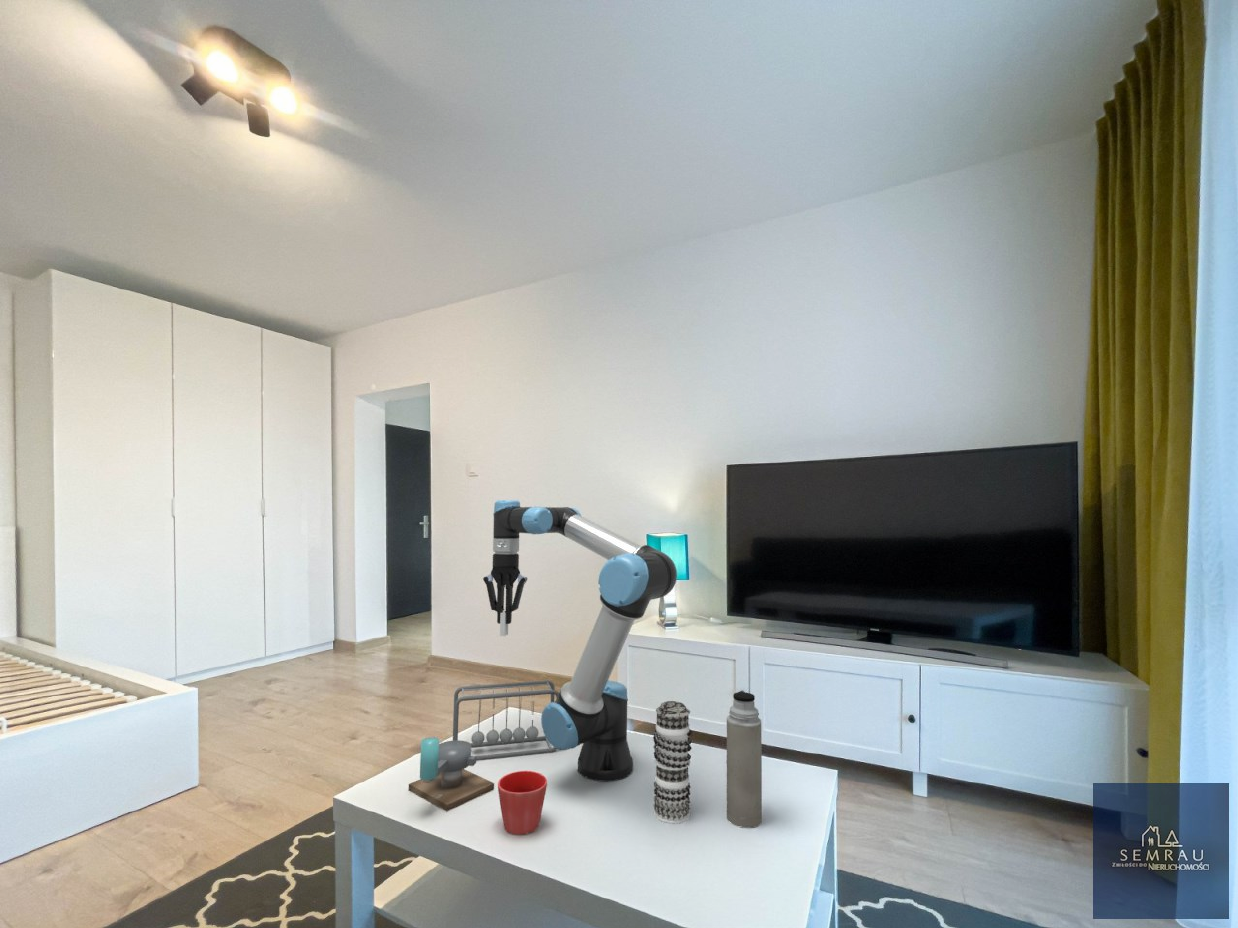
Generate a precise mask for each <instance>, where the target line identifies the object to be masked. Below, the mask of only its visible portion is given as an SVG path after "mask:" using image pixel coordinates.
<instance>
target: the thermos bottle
mask: <svg viewBox="0 0 1238 928" xmlns="http://www.w3.org/2000/svg"><path fill="white" fill-rule="evenodd" d="M732 697H733V702H732V703H733V705H732V706H730V707H729V712H728V714H729V715H727V716H726V818H727V821H728V822H729V821H730V822H731V823H730V822H729V823H730V824H732V825H733V826H736V827H738V826H742V827H741V828H743V827H753V828H755V827H754V826H757V827H759V826H760V825H761V824H762V822H763V806H762V805H763V804H762V802H763V801H762V800H763V799H762V795H763V790H762V789H763V788H762V787H763V784H762V783H763V782H762V781H763V780H762V778H763V775H762V771H763V769H762V765H763V764H762V758H763V757H762V752H763V750H762V744H763V743H762V741H763V740H762V719H761V718H760V717H759V716H760V713H759V709H757V707H756V706H755V700H756V699H755V695H754V694H753V693H749V692H743V691H740V692H739V691H738V692H735V693H733V696H732Z"/></svg>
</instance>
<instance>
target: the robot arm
mask: <svg viewBox="0 0 1238 928" xmlns="http://www.w3.org/2000/svg"><path fill="white" fill-rule="evenodd" d="M492 533H493V534H492V536H493V538H492V551H493V552H494V553H493V554H492V569H491V571H490V573H489V574H488V575H487V576H484V577H483V578H482V580H483V582H484V583H485V585H486V591H487V595H488V599H489V600H488V601H489V605H490V610H491V611H495V612H496V613H497V614H496V615H497V616H496V617H497V619H496V620H497V621H496V622H497V624H499V637H506V636H508V635H509V624H511V623H512V615H513V614H512V612H514V611H515V612H516V611H517V610H518V609H519V606H520V604H521V598H522V595H523V591H524V588H525V585H526V583H527V581H528V577H527V576H523V575H522V574H521V572H520V571H521V570H520V560H519V559H520V557H519V556H520V554H519V552H520V534H529V535H530V534H531V535H542V534H552V533H554V534H559V535H562V536H564V537H565V538H568V539H569V540H570V541H573V542H575V543H577V545H578V544H579V545H581V546H582V547H584V548H586V549H588V550H590V551H591V552H593V553H595V554H596V555H599V556H600V557H602V558H604V559H606V560H607V562H605V563H604V564H603V566H602V568H601V569H600V572H599V575H598V580H597V581H598V585H599V586H600V587H599V588H598V590H599V593H600V595H599V601H600V603H601V605H602V606H601V607H600V608H601V609H600V610H599V613H598V616H597V618H596V620H595V623H594V625H593V628H592V629H591V632H590V635H589V637H588V640H587V642H586V645H585V647H584V649H583V652H582V654H581V656H580V659H579V661H578V663H577V666H576V668H575V670H574V673H573V675H572V678H571V680H570V681H568V682H565V683H564V684H563V685H562V686H561V688H560V691H559V695H558V697H557V700H556V699H555V700H554V702H551V701H550V702H549V703H548V704H547V705H546V706H544V708H543V709H542V711H541V718H540V720H541V721H540V722H541V728H542V730H543V734H544V736H546V738H547V740H548V742H549V745H550V746H552V748H553V747H555V748H556V749H557V750H559V751H567V750H570V749H575V748H576V747H578V746H580V745H582V746H581V749H580V753H579V756H578V759H577V772H578V774H580V775H581V776H582V777H584V778H586V779H589V780H591V781H592V780H593V781H598V782H612V781H619V780H622V779H624V778H627V777H628V776H630V775H631V774H632V772H633V770H634V768H633V767H634V760H633V757H632V754H631V750H630V747H629V743H628V737H627V736H628V701H629V699H628V688H627V687H626V685H624V684H623V683H621V682H618V681H614V680H609V679H610V677H611V674H612V672H613V670H614V668H615V665H616V663H617V661H618V659H619V656H620V654H621V652H622V650H623V647H624V645H625V642H626V640H627V638H628V636H629V633H630V632H631V628H632V627H633V624H634V622H635V620H639V619H642V618H643V617H644V615H645V613H646V611H647V608H648V606H649V604H650V601H651V600H657V599H661V598H663V597H666V596H667V595H668V594H669V593H671V591H672V590H673V589H674V587H675V586H676V583H677V579H678V571H677V566H676V564H675V563H674V561H673V560H672V558H671V557H670V556H669V555H667V554H666V553H665V552H663V551H660V550H658V549H657V548H655V547H653V546H650V545H648V544H644V545H643V544H642V545H640V544H638V543H636V542H634V541H632V540H629V539H628V538H626V537H624V536H622V535H620V534H618V533H616V532H614V531H612V530H610V529H608V528H606V527H604V526H602V525H600V524H599V523H595V522H594V521H591V520H590V519H588V518H586V517H584V516H582V514H581V513H580V511H579V510H578V509H577V508H574V507H569V506H566V507H565V506H564V507H562V506H560V507H559V506H558V507H557V506H556V507H551V506H549V507H548V506H547V507H546V506H524V507H523V506H522V507H521V502H520V500H515V499H510V500H509V499H506V500H504V499H497V500H495V502H494V507H493V531H492ZM493 581H495V583H496V590H497V595H496V591H495V585H494V582H493ZM516 581H517V586H516V589H515V594H514V591H513V588H514V583H516ZM513 595H514V598H513Z"/></svg>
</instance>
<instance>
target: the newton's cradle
mask: <svg viewBox="0 0 1238 928" xmlns="http://www.w3.org/2000/svg"><path fill="white" fill-rule="evenodd" d="M538 686H548V687H549V688H547V689H536V690H535V689H532V690H523V691H522V689H521V688H524V687H531V688H534V687H538ZM511 688H518V690H519V691H510V692H509V691H508V689H511ZM555 688H556V687H555V684H554V682H553V681H551V680H534V681H523V682H510V683H509V682H508V683H497V684H496V683H495V684H483V685H480V684H479V685H468V686H467V685H465V686H459V687H458V688H457V689H455V690H454V691H455V692H454V694H453V695H454V696H453V716H452V717H453V719H452V720H453V721H452V723H453V724H452V725H453V726H452V741H454V740H459V716H460V715H459V713H460V712H459V709H460V706H459V705H460V703H461V702H466V701H476V700H479V701H478V702H479V703H478V727H477V731H475V732H473V733H472V735H471V738H470V739H471V743H470V744H471V749H472V748H480V747H481V748H482V747H491V746H501V745H511V744H512V745H513V744H519V743H520V744H521V743H529V742H531V743H532V742H539V741H546V743H547V745H548V748H541V749H529V750H521V751H512V752H502V753H491V754H484V755H483V754H482V755H476V756H477V758H476V761H485V760H492V759H493V760H495V759H503V758H510V757H522V756H531V755H532V756H533V755H538V754H539V755H540V754H547V753H548V754H549V753H550V754H551V753H554V752H556V751H557V750H558V749H556V748H555V747H553V746H552V747H551V744H550V743H549V741H548V740H547V738H546V736H545V735H543V736H539V729H538V728H537V726H535V725H533V724H534V721H531V726H528V728H526V731H525V729H524V727H521V713H522V709H521V708H522V703H521V697H529V696H531V697H532V696H541V695H543V696H544V695H550V703H551V702H555V701H556V700H557V697H558V695H559V693H560V691H558V690H557V689H555ZM498 689H505V691H506V692H498V693H495V690H498ZM484 690H492V693H482V692H481V691H484ZM468 691H469V692H470V691H479V694H470V695H469V694H466V695H465V694H464V693H465V692H468ZM461 692H462V693H461ZM460 693H461V694H462V696H461V697H459V694H460ZM517 697H518V727H516V728H515V729H514V730H513V731H512V730H511V729H510V728H508V709H509V701H508V698H517ZM555 697H556V698H555ZM502 698H503V699H504V698H505V728H504V729H502V730H501V731H500V733H499V731H498V730H496V729H494V723H495V722H494V721H495V715H492V729H491V730H489V731H488V732H487V733H486V736H485V733H483V731H480V723H481V722H480V719H481V710H482V709H481V705H482V700H489V699H492V708H495V704H496V701H495V700H496V699H502ZM534 710H535V702H532V714H534V713H535V712H534ZM485 739H486V741H485Z"/></svg>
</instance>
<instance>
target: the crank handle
mask: <svg viewBox="0 0 1238 928" xmlns="http://www.w3.org/2000/svg"><path fill="white" fill-rule="evenodd" d="M477 756H478V755H472V748H471V743H470V742H469V741H465V740H460V739H458V740H454V741H453V740H447V741H443V742H441V743H440V739H439V737H435V736H432V737H431V736H430V737H425V738H423V739H421V741H420V759H419V760H420V761H419V778H420V779H422V780H427V781H433V780H434V779H435V778H436V777H437V776H438V775H439V774H440V773H441V772H454V771H459V770H462V769H467V768H468V767H473V766H475V765H476V763H477V760H476V758H477ZM420 779H419V780H420Z"/></svg>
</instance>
